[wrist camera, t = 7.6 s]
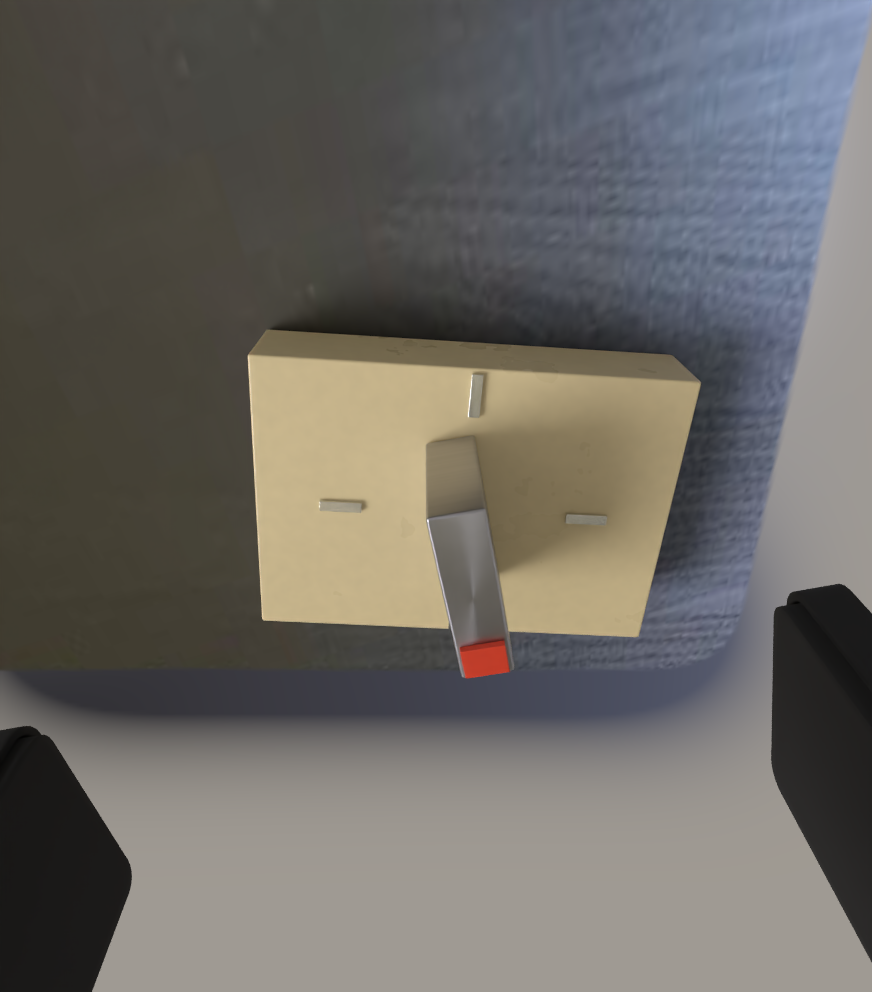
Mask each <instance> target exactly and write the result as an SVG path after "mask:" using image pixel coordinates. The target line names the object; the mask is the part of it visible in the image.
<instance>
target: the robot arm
mask: <svg viewBox="0 0 872 992" xmlns="http://www.w3.org/2000/svg"><path fill="white" fill-rule="evenodd" d="M771 755H772V756H771V761H772V768H773V773H774V776H775V780H776V782H777V785H778V788H779V790H780V792H781V794H782V795H783V798H784V799H785V801H786V803H787V805H788V807H789V809H790V811H791V812H792V814H793V816H794V818H795V820H796V822H797V824H798V826H799V827H800V829H801V831H802V833H803V835H804V837H805V839H806V840H807V842H808V844H809V846H810V848H811V850H812V852H813V853H814V855H815V857H816V859H817V861H818V863H819V865H820V867H821V868H822V870H823V872H824V874H825V876H826V878H827V880H828V882H829V883H830V885H831V887H832V889H833V891H834V892H835V895H836V896H837V898H838V900H839V902H840V904H841V906H842V907H843V910H844V911H845V913H846V915H847V917H848V919H849V921H850V923H851V924H852V926H853V928H854V930H855V932H856V934H857V936H858V938H859V939H860V941H861V943H862V945H863V947H864V949H865V951H866V952H867V954H868V956H869V958H870V960H871V962H872V613H871V612H870V611H869V610H868V609H867V608H866V607H865V606H864V605H863V603H862V602H861V601H860V600H859V599H858V598H857V597H856V596H855V595H854V594H853V592H852V591H851V590H849V589H848V588H847V587H846V586H844V585H842V584H835V585H830V586H824V587H818V588H812V589H807V590H801V591H796V592H792V593H790V595H789V596H788V599H787V605H786V606H781V607H777V608H776V609H775V612H774V637H773V693H772V750H771ZM131 880H132V874H131V867H130V864H129V861H128V859H127V858H126V856H125V855H124V853H123V851H122V850H121V848H120V847H119V845H118V843H117V842H116V840H115V839H114V837H113V836H112V834H111V832H110V831H109V829H108V828H107V826H106V824H105V823H104V821H103V820H102V818H101V817H100V815H99V813H98V812H97V810H96V809H95V807H94V805H93V804H92V802H91V801H90V799H89V798H88V796H87V794H86V793H85V791H84V790H83V788H82V787H81V785H80V783H79V782H78V780H77V779H76V777H75V775H74V774H73V773H72V771H71V769H70V768H69V766H68V764H67V763H66V761H65V760H64V758H63V756H62V755H61V753H60V752H59V750H58V749H57V747H56V745H55V744H54V742H53V741H52V740H51V739H50V737H48V736H46V735H41V734H40V732H39V731H38V730H37V729H35V728H33V727H31V726H23V727H17V728H12V729H6V730H0V992H92V990H93V987H94V984H95V982H96V979H97V977H98V974H99V971H100V969H101V966H102V963H103V961H104V958H105V955H106V953H107V950H108V947H109V944H110V942H111V939H112V937H113V934H114V931H115V929H116V926H117V923H118V921H119V918H120V915H121V913H122V910H123V907H124V905H125V902H126V899H127V897H128V894H129V891H130V887H131Z"/></svg>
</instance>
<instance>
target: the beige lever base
mask: <svg viewBox="0 0 872 992" xmlns="http://www.w3.org/2000/svg"><path fill="white" fill-rule="evenodd" d="M248 370H249V388H250V406H251V424H252V442H253V460H254V478H255V496H256V514H257V532H258V550H259V568H260V586H261V605H262V619H263V620H267V621H289V622H311V623H333V624H356V625H378V626H400V627H423V628H445V629H450V625H449V621H448V616H447V612H446V607H445V603H444V598H443V594H442V590H441V585H440V581H439V576H438V572H437V567H436V563H435V559H434V554H433V550H432V545H431V541H430V536H429V532H428V528H427V523H426V444H428V443H433V442H438V441H444V440H449V439H455V438H460V437H466V436H474V437H475V440H476V446H477V452H478V457H479V463H480V469H481V474H482V480H483V485H484V491H485V497H486V502H487V508H488V514H489V519H490V525H491V530H492V536H493V542H494V547H495V553H496V558H497V564H498V570H499V575H500V581H501V588H502V594H503V600H504V606H505V612H506V618H507V624H508V630H509V631H512V632H534V633H556V634H578V635H601V636H623V637H638V636H639V632H640V628H641V624H642V620H643V616H644V612H645V608H646V604H647V600H648V596H649V592H650V588H651V584H652V580H653V576H654V572H655V568H656V564H657V560H658V556H659V552H660V548H661V544H662V540H663V536H664V532H665V527H666V523H667V519H668V515H669V511H670V507H671V503H672V499H673V495H674V491H675V487H676V483H677V479H678V475H679V471H680V467H681V463H682V459H683V455H684V451H685V447H686V443H687V439H688V435H689V431H690V427H691V423H692V418H693V414H694V410H695V406H696V402H697V398H698V394H699V390H700V386H701V382H700V381H699V380H698V379H697V378H696V377H695V376H694V375H693V374H692V373H691V372H690V371H689V370H688V369H686V368H685V367H684V366H683V365H682V364H681V363H680V362H679V361H678V360H677V359H676V358H675V357H674V356H673V355H666V354H650V353H634V352H618V351H602V350H586V349H569V348H553V347H537V346H521V345H505V344H489V343H473V342H457V341H441V340H425V339H409V338H393V337H377V336H361V335H345V334H329V333H313V332H297V331H281V330H267V331H266V332H265V333H264V335H263V336H262V337H261V339H260V340H259V341H258V342H257V344H256V345H255V346H254V348H253V349H252V350H251V352H250V353H249V354H248Z"/></svg>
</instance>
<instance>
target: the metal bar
mask: <svg viewBox="0 0 872 992" xmlns="http://www.w3.org/2000/svg"><path fill="white" fill-rule="evenodd" d="M426 523H427V528H428V532H429V536H430V541H431V545H432V550H433V554H434V559H435V563H436V567H437V572H438V576H439V581H440V585H441V590H442V594H443V598H444V603H445V607H446V612H447V616H448V621H449V625H450V629H451V634H452V638H453V643H454V647H455V652H456V656H457V661H458V665H459V669H460V674H461V676H462V677H464V678H473V677H479V676H486V675H492V674H499V673H505V672H510V670H513V669H514V667H515V666H514V660H513V654H512V648H511V642H510V636H509V630H508V624H507V618H506V612H505V606H504V600H503V594H502V588H501V581H500V575H499V570H498V564H497V558H496V553H495V547H494V542H493V536H492V530H491V525H490V519H489V514H488V508H487V502H486V497H485V491H484V485H483V480H482V474H481V469H480V463H479V457H478V452H477V446H476V440H475V437H474V436H466V437H460V438H455V439H449V440H444V441H438V442H433V443H428V444H426Z"/></svg>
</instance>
